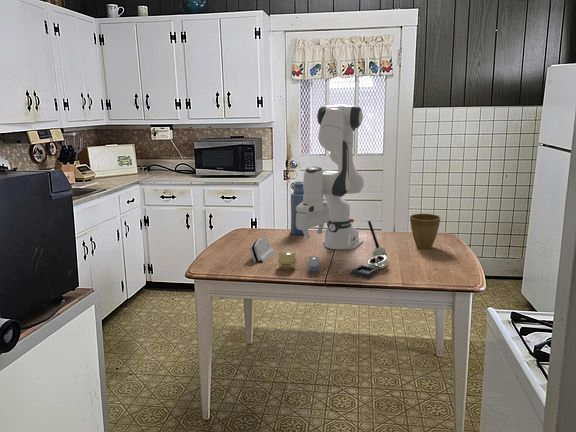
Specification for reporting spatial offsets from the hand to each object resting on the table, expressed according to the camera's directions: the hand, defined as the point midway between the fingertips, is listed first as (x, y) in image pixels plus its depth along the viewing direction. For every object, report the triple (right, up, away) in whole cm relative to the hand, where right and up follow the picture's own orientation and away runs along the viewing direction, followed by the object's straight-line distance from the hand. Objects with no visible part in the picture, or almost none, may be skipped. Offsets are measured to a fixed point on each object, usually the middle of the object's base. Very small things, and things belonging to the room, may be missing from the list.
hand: (313, 235), depth 213 cm
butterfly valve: (+30, -15, +9) cm, 35 cm away
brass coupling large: (-11, -15, +8) cm, 21 cm away
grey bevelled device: (-24, -12, +25) cm, 36 cm away
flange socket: (+22, -17, -1) cm, 28 cm away
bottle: (-5, -1, +66) cm, 66 cm away
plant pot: (+58, -7, +36) cm, 69 cm away
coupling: (0, -16, +4) cm, 16 cm away
